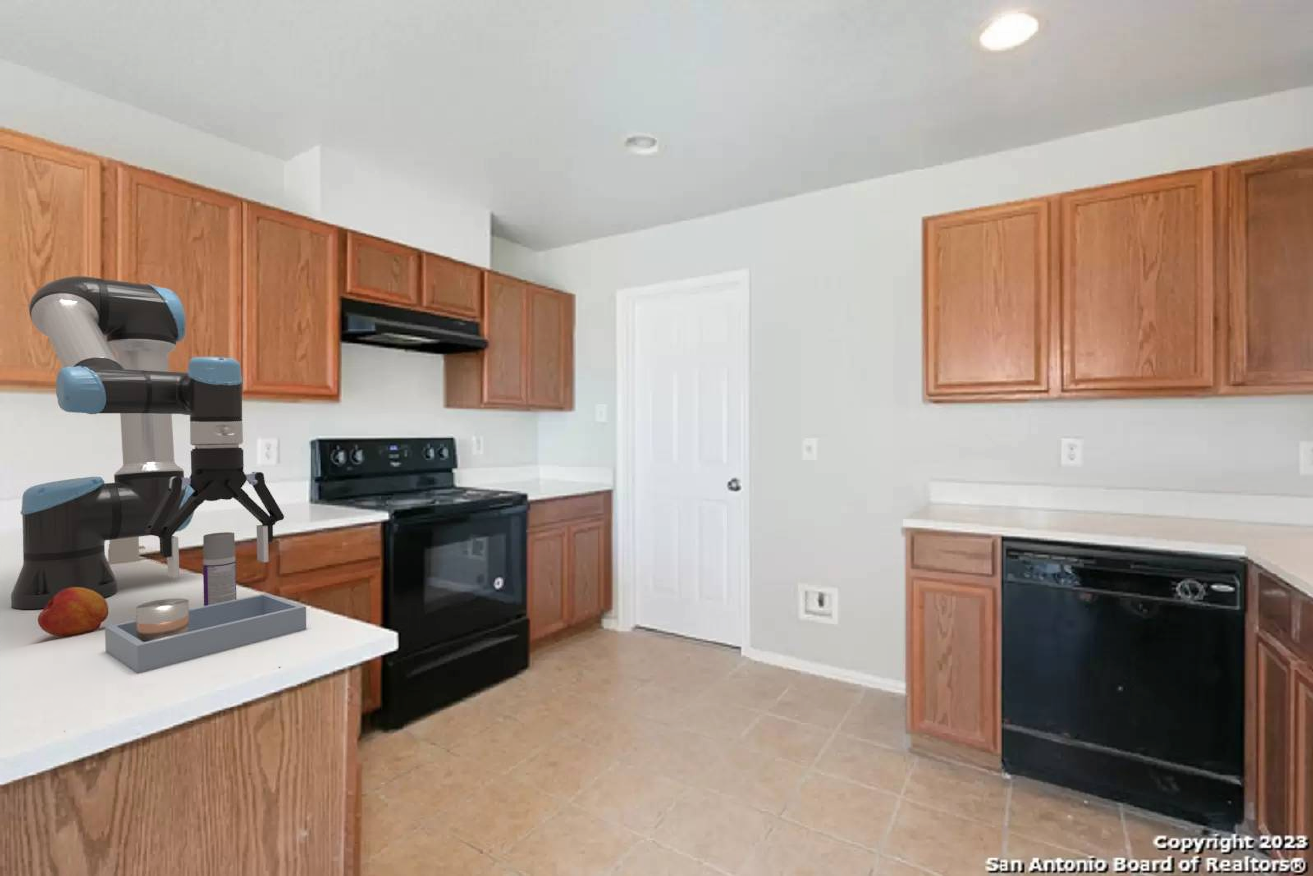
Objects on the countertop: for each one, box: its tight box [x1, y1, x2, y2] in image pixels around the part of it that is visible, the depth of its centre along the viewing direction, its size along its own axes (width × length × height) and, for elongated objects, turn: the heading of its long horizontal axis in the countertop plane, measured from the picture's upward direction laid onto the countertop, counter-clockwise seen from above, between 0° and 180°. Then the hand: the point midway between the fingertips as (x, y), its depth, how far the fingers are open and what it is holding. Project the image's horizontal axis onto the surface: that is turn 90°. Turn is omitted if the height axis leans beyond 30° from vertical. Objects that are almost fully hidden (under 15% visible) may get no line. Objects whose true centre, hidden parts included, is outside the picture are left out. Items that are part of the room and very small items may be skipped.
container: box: [202, 531, 237, 606], centre depth 110 cm, size 5×5×15 cm
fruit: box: [37, 587, 109, 638], centre depth 102 cm, size 8×8×8 cm
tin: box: [136, 597, 190, 642], centre depth 93 cm, size 6×6×7 cm
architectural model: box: [107, 537, 146, 566], centre depth 156 cm, size 3×7×7 cm, turn 135°
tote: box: [104, 592, 307, 674], centre depth 98 cm, size 14×22×4 cm, turn 145°
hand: (220, 568), depth 110 cm, fingers open, 13 cm apart
